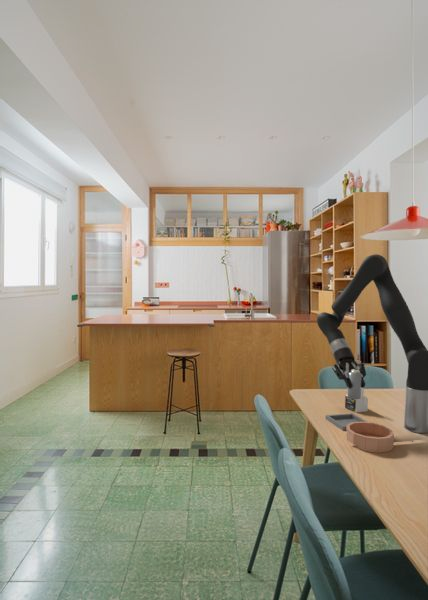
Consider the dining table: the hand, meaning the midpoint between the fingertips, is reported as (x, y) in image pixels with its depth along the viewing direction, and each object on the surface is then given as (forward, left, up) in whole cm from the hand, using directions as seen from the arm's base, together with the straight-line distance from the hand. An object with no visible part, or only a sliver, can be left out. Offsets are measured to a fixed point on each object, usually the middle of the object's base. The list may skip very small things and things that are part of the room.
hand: (357, 387), depth 159 cm
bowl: (+2, +11, -18) cm, 21 cm away
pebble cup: (0, -2, -5) cm, 5 cm away
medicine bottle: (-14, -21, -18) cm, 31 cm away
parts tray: (0, -6, -18) cm, 19 cm away
